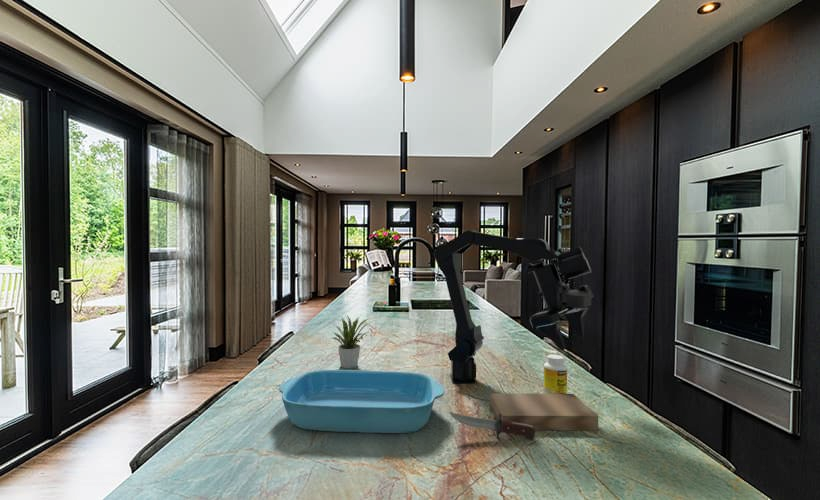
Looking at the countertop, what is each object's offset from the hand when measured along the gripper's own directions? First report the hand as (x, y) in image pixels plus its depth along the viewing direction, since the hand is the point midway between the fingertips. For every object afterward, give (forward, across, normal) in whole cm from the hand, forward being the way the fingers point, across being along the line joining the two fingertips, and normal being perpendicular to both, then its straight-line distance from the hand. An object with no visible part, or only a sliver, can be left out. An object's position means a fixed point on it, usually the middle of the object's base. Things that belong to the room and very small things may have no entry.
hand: (572, 344), depth 95 cm
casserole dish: (-1, -48, +26) cm, 54 cm away
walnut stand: (+11, -17, +3) cm, 21 cm away
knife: (+9, -33, +3) cm, 34 cm away
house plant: (-9, -32, +56) cm, 66 cm away
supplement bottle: (+12, -4, +8) cm, 15 cm away
